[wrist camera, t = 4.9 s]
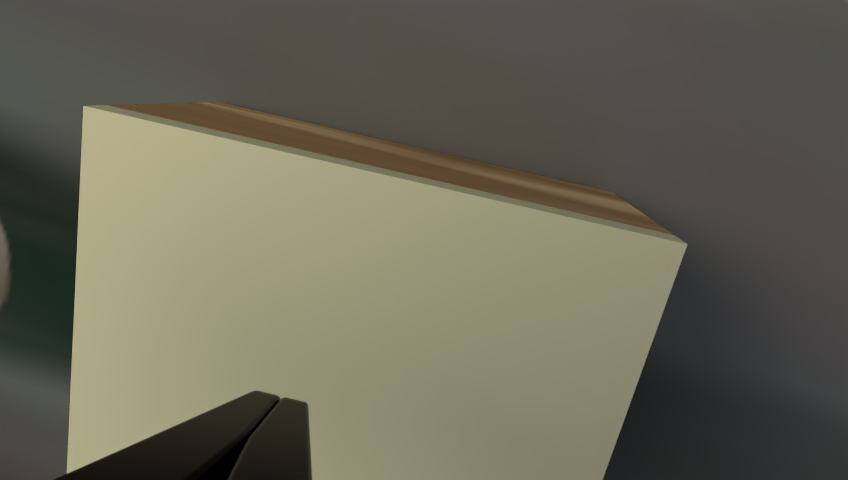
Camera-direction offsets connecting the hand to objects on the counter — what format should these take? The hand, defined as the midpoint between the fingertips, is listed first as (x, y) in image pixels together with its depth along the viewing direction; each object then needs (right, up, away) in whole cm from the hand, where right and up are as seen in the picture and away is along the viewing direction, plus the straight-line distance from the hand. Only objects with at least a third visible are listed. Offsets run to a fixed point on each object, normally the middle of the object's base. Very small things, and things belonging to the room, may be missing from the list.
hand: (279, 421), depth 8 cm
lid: (0, -2, +7) cm, 7 cm away
